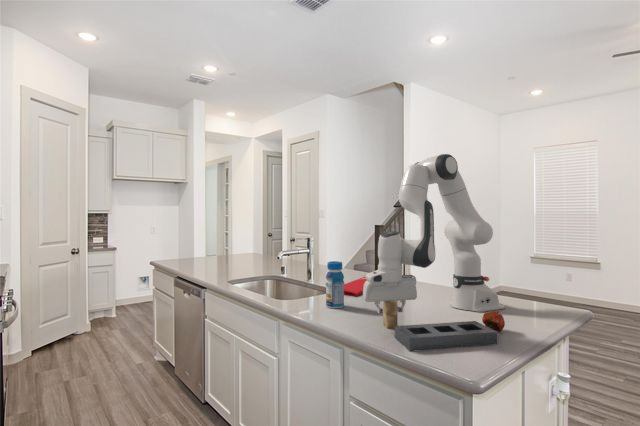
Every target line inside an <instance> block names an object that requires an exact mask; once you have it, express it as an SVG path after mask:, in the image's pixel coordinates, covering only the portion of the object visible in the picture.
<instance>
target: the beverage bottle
mask: <svg viewBox="0 0 640 426" xmlns="http://www.w3.org/2000/svg"><path fill="white" fill-rule="evenodd" d="M326 265H327V266H326V267H327V270H328V272H327V273H326V276H325V279H326V281H325V298H326V299H325V300H326V301H325V306H326V307H327V308H329V309H341V308H343V307H344V306H345V295H344V284H345V281H344V279H345V276H344V273H343V272H342V270H343V262H342V261H327V264H326Z"/></svg>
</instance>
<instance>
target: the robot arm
mask: <svg viewBox="0 0 640 426" xmlns="http://www.w3.org/2000/svg"><path fill="white" fill-rule="evenodd" d="M458 169H459V167H458V162H457V160H456V158H455V157H454V156H453V155H451V154H449V153H445V154H444V153H442V154H439V155H435V156H431V157H427V158H425V159H423V160H422V161H417V162H416V163H414V164H411V165H409V166H407V168H406V169H405V172H404V173H403V176H402V178H401V183H400V186H399V187H400V188H399V192H398V202H399V204H400V206H402V208H403V209H404V210H406V211H408V212H409V213H412V214H414V215H416V216H419V219H420V229H419V230H420V235H419V236H420V237H419V239H405V238H403V237H401V233H400V232H399V231H393V230H392V231H384V232H381V234H380V235H379V237H378V243H377V258H378V264H377V269H376V270H373V271H371V272H369V273H366V274H365V277H366V279H367V281H366V282H365V283H364V287H363V294H362V298H363V300H364V301H365V302H366V303H374V305H375V307H376V308H377V314H383V307H380V304H381V302H383V301H396V300H397V302H398V301H399V302H400V304H399V305H398V306H397V313H403V312H404V311H403V310H404V307H405V305H406V302H407V301H414V300H416V299H418V290H417V286H416V285H417V278H416V276H415V275H413V274H403V266H402V265H408V266H414V267H419V268H424V269H426V268H427V267H430V266H431V265H432V264H433V263H434V262H435V260H436V246H435V226H434V224H435V220H434V219H435V218H434V217H435V215H434V214H435V213H434V207H433V204H432V203H431V201H429V199H428V190H429V185H433V184H437V187H438V192H439V194H440V197H441V200H442V203H443V205H444V209H445V211H446V213H448V214H449V215H450V216H451V217H452V220H449V221H448V222H447V223H446V224H445V226H444V230H443V231H444V232H443V233H444V236H445V238H446V239H448V242H449V244H450V246H451V247H450V248H451V250H452V255H453V275H452V276H453V278H452V280H453V281H452V282H453V283H452V284H453V291H452V292H453V293H452V298H451V302H450V306H451V307H452V308H456V309H459V310H464V311H465V310H466V311H471V312H472V311H473V312H477V313H482V312H483V313H484V312H487V311H488V312H491V311H495V310H504V309H506V307H505V305H504V304H503V303H500V300H499V296H498V293H497V292H496V291H495V290H494V289H492V288H491V287H489V286H488V285H487V284H485V282H489V281H490V277H488V276H484V275H482V273H481V272H482V269H481V268H482V267H481V266H482V263H481V262H482V259H481V256H480V254H478V253H477V250H476V248H475V246H480V245H485V244H488V243H489V242H490V241H492V239H493V235H494V230H493V227H492V225H491V224H490V223H489V222H487V221H486V220H484V218H482V216H481V215H480V214H479V212H478V211H477V209H476V207H475V206H474V204H473V203H472V200H471V197H470V194H469V192H468V188H467V186H466V183H465V181H464V179H463V177H462V175H461V173H460V172H459V170H458Z"/></svg>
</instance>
